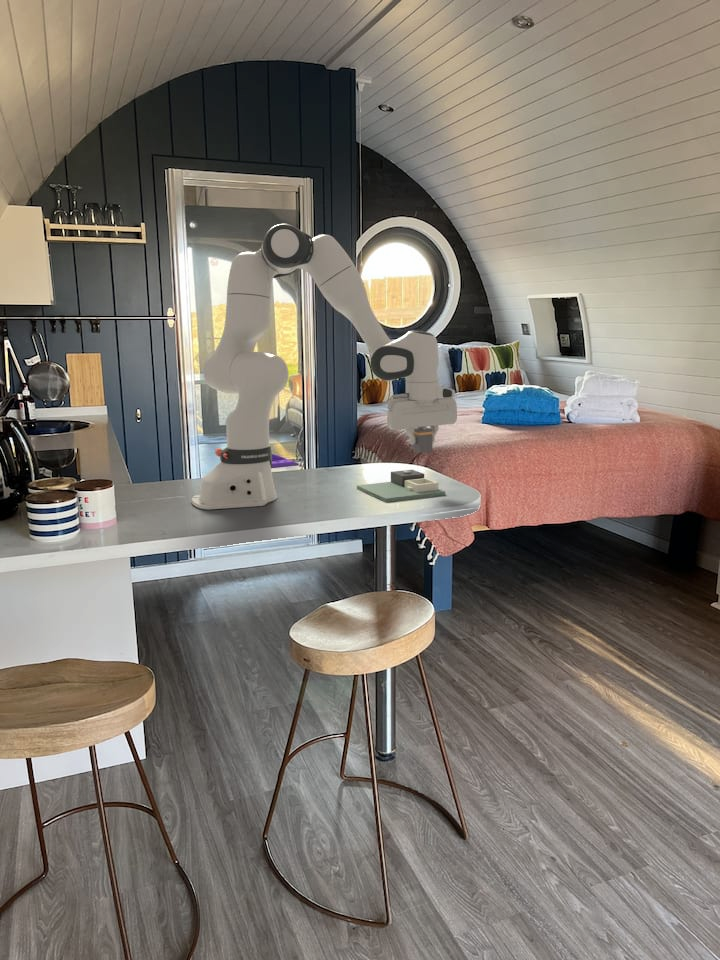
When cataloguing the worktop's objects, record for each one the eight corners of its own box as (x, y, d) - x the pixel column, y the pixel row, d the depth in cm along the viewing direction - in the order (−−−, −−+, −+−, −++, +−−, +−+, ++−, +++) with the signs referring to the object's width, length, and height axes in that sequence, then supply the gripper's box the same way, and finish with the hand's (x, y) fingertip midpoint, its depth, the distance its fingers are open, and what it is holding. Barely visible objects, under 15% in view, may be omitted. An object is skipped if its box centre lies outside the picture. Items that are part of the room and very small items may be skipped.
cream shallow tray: (414, 492, 200) (414, 485, 200) (401, 487, 206) (402, 480, 206) (438, 489, 203) (438, 482, 203) (425, 485, 209) (425, 478, 209)
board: (385, 502, 194) (385, 498, 194) (356, 488, 210) (356, 485, 210) (445, 495, 201) (445, 491, 201) (412, 482, 217) (412, 479, 217)
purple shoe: (264, 471, 238) (263, 450, 236) (257, 468, 244) (256, 447, 242) (299, 468, 243) (298, 447, 241) (291, 464, 249) (290, 444, 247)
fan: (402, 486, 207) (402, 474, 207) (390, 482, 213) (390, 470, 213) (424, 484, 210) (424, 472, 209) (412, 479, 216) (412, 468, 216)
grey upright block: (419, 452, 201) (419, 428, 199) (411, 450, 204) (411, 426, 203) (432, 450, 202) (432, 426, 201) (424, 448, 206) (424, 424, 204)
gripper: (393, 396, 192) (394, 448, 196) (460, 390, 201) (460, 441, 204) (382, 393, 198) (383, 445, 201) (447, 388, 207) (447, 437, 210)
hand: (422, 443), depth 203 cm, fingers closed on grey upright block, 4 cm apart
